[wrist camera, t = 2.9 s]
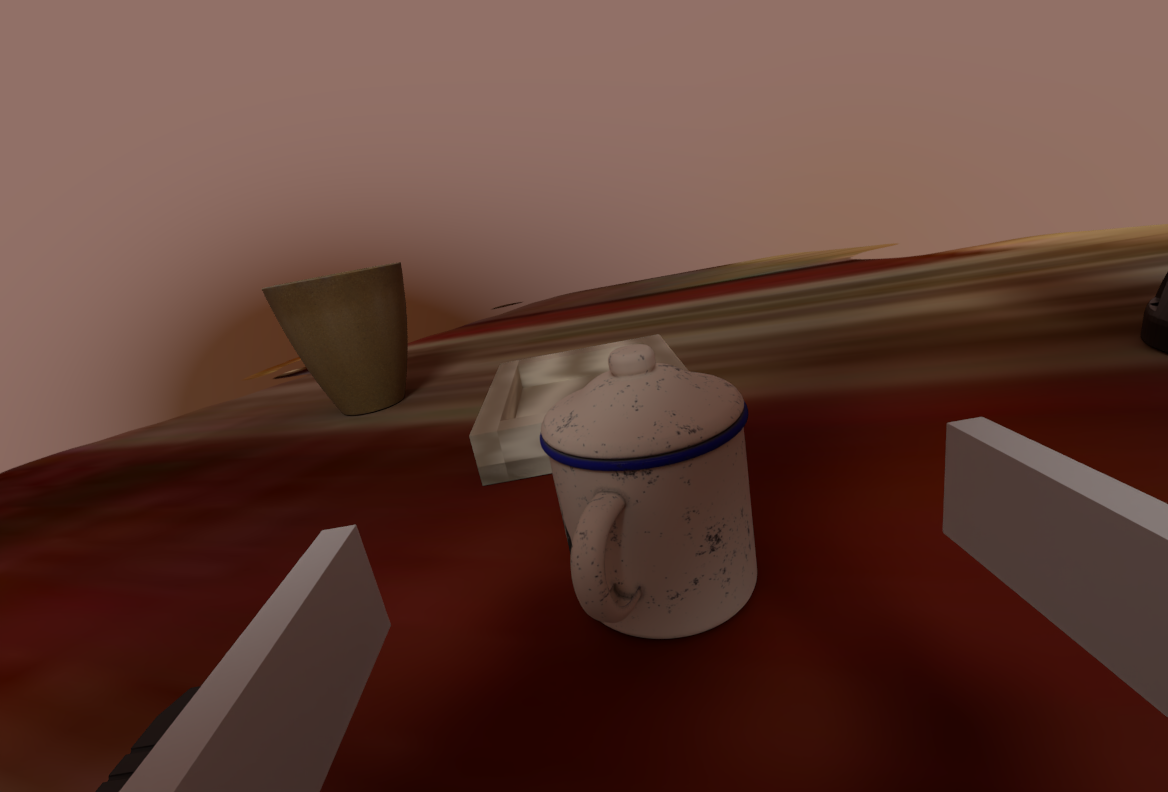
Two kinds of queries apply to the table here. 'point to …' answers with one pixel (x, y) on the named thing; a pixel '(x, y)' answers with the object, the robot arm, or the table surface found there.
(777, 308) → the table surface
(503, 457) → the square tray
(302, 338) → the plant pot
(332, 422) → the table surface
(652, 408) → the teacup with lid
